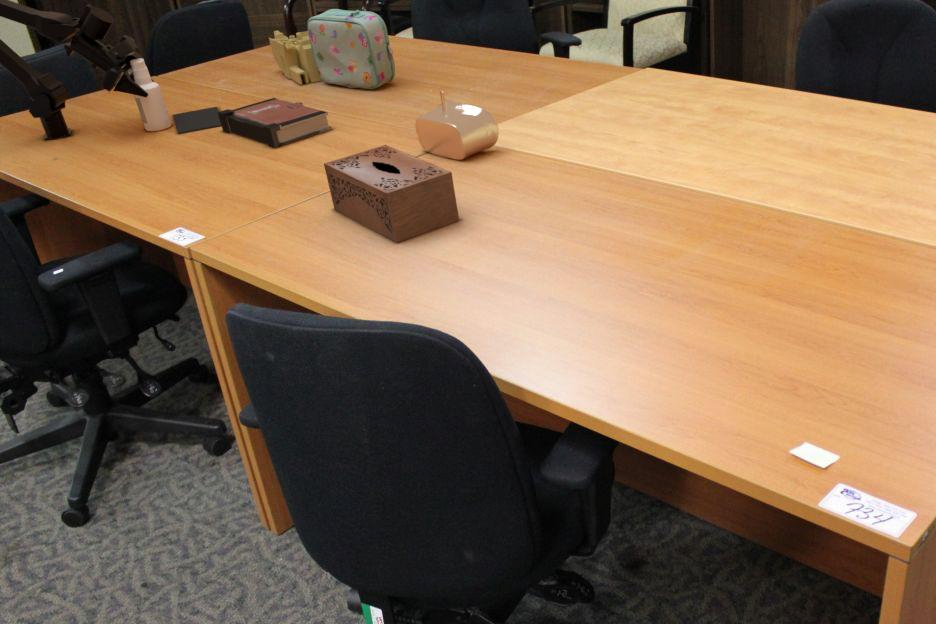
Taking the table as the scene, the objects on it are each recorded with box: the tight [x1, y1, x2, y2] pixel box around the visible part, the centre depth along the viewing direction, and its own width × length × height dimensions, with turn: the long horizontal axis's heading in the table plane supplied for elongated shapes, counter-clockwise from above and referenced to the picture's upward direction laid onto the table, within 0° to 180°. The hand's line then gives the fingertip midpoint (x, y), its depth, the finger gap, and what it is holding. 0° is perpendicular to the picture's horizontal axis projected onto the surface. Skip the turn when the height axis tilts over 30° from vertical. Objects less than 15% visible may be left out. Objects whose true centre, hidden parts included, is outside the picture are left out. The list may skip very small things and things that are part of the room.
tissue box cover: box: [323, 144, 460, 244], centre depth 196 cm, size 26×14×10 cm, turn 40°
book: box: [218, 97, 332, 149], centre depth 253 cm, size 26×18×5 cm
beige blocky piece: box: [268, 30, 324, 86], centre depth 301 cm, size 24×16×20 cm
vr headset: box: [414, 90, 500, 161], centre depth 226 cm, size 18×11×14 cm, turn 49°
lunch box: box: [307, 8, 396, 90], centre depth 282 cm, size 27×10×21 cm, turn 58°
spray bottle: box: [130, 57, 172, 132], centre depth 259 cm, size 7×7×18 cm
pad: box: [172, 106, 222, 135], centre depth 268 cm, size 20×12×1 cm, turn 24°
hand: (152, 91), depth 259 cm, fingers open, 8 cm apart
